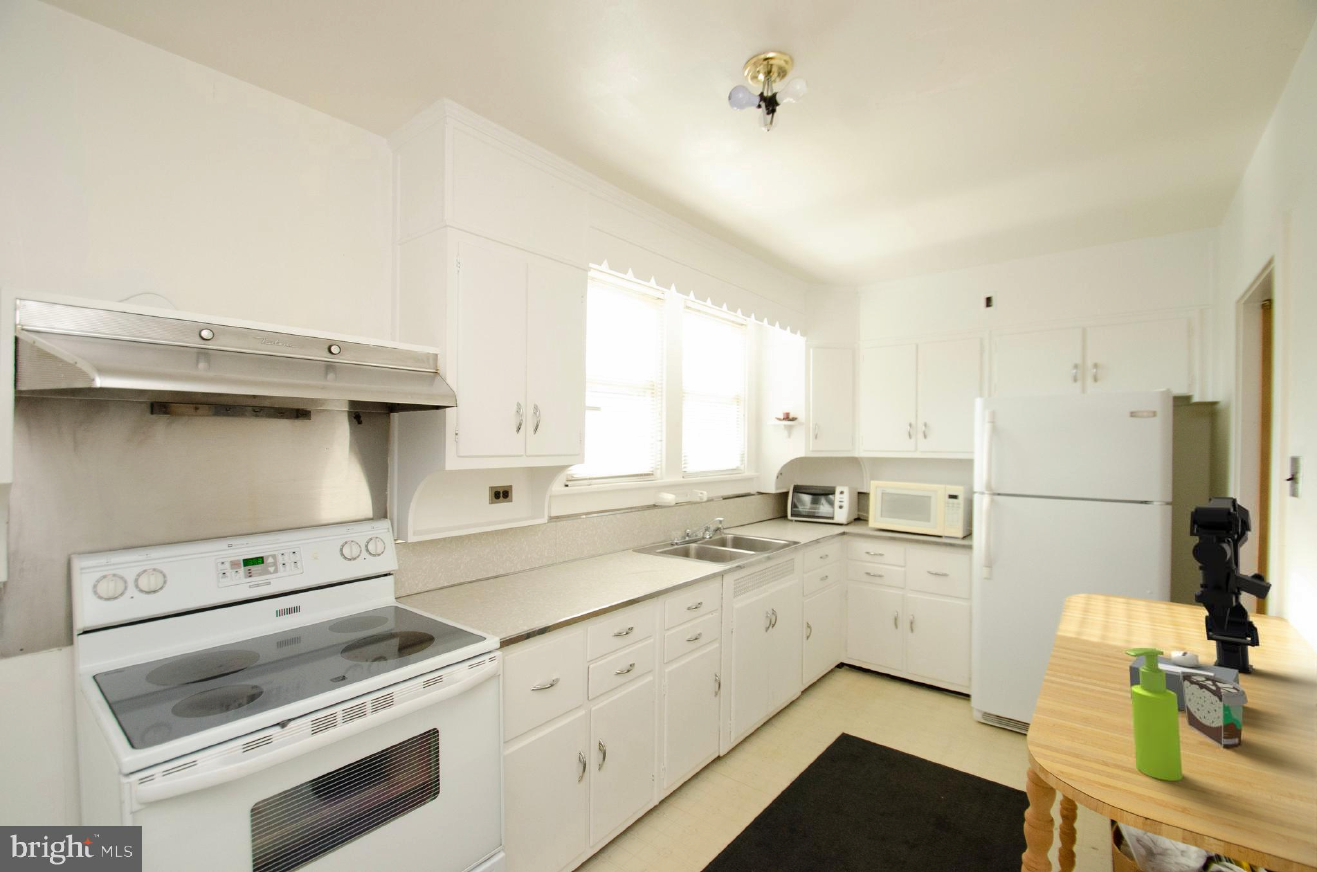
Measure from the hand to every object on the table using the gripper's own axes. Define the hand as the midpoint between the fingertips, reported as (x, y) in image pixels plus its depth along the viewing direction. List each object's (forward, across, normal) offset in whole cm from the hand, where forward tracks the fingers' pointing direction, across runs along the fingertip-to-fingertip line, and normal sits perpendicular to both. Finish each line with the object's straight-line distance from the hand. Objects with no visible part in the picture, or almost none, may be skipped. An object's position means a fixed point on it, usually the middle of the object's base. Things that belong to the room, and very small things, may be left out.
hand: (1221, 630), depth 136 cm
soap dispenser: (+12, -59, +3) cm, 60 cm away
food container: (+12, -35, -3) cm, 37 cm away
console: (+12, -19, +4) cm, 23 cm away
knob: (+9, -16, +5) cm, 19 cm away
